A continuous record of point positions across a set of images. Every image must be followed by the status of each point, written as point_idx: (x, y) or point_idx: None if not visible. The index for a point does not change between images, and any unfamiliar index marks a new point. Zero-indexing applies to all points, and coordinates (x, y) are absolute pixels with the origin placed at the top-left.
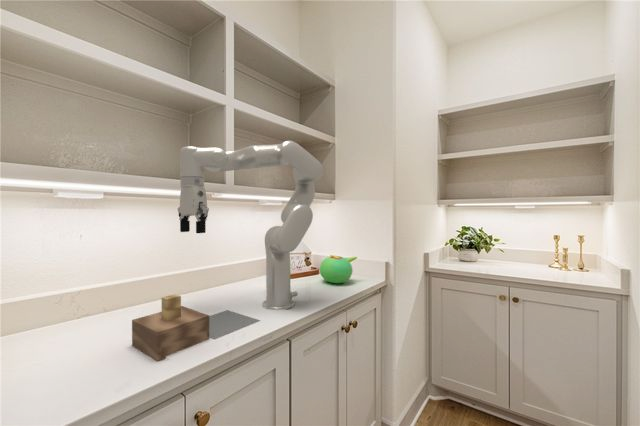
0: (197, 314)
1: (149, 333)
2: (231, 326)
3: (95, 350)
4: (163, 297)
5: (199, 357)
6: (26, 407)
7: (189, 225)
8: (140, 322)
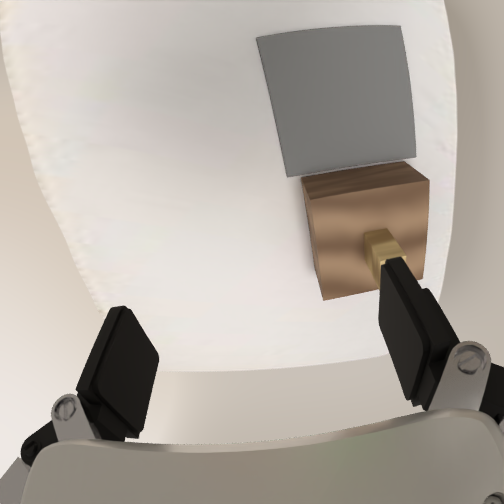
0: (403, 196)
1: None
2: (385, 94)
3: (287, 307)
4: None
5: (442, 202)
6: (380, 348)
7: (110, 348)
8: (352, 292)
